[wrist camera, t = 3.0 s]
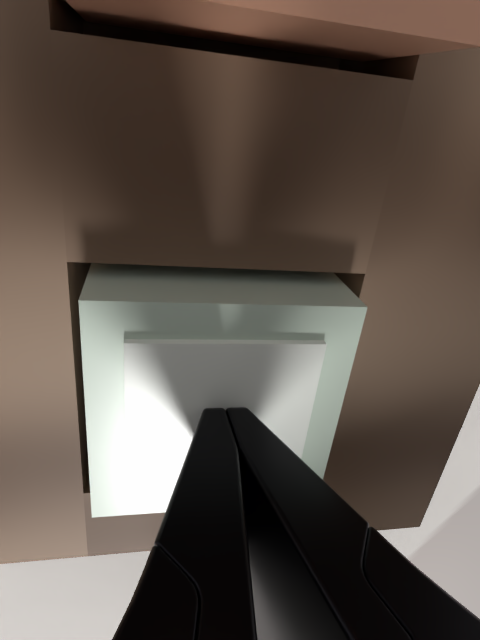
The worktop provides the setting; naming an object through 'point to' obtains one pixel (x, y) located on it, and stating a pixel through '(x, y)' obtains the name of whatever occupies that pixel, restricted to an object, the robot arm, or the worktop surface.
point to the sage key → (206, 367)
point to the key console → (232, 240)
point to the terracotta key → (304, 23)
